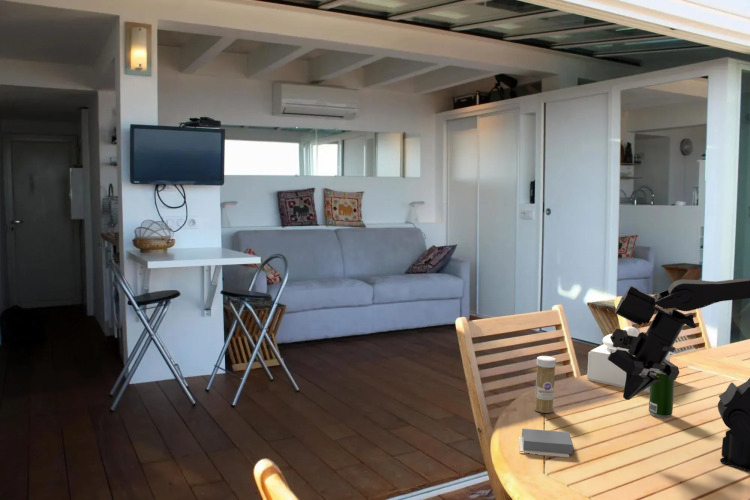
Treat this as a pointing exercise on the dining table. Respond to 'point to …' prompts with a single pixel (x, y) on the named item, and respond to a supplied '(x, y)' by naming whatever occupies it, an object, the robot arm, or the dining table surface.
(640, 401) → the dining table surface
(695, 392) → the dining table surface
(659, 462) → the dining table surface
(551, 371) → the sprinkles bottle
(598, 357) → the butter dish
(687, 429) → the dining table surface
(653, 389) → the beer can
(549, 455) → the plate
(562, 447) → the slate tile
